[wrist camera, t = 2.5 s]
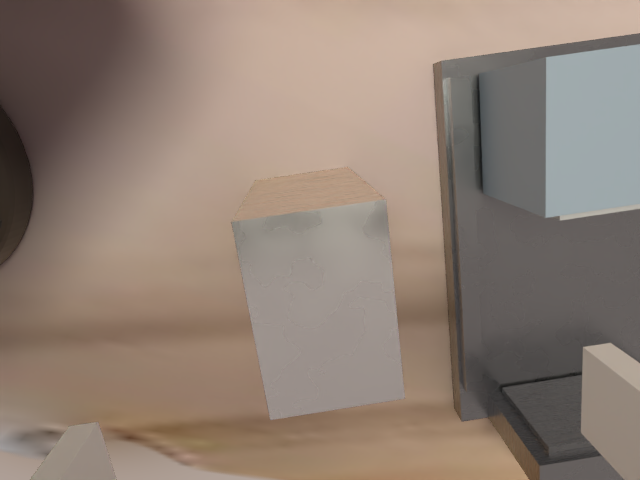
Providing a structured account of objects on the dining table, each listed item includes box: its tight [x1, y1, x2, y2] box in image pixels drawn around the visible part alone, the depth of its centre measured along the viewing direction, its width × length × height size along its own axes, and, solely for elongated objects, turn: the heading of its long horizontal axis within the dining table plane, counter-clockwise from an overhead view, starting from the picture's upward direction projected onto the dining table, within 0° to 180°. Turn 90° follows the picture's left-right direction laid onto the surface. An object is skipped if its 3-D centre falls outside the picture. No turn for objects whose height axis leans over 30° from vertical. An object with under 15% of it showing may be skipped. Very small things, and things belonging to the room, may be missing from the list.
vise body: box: [433, 33, 640, 480], centre depth 27 cm, size 16×29×8 cm, turn 8°
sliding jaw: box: [479, 44, 640, 221], centre depth 23 cm, size 12×8×7 cm, turn 98°
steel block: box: [232, 167, 405, 420], centre depth 24 cm, size 6×9×12 cm, turn 8°
